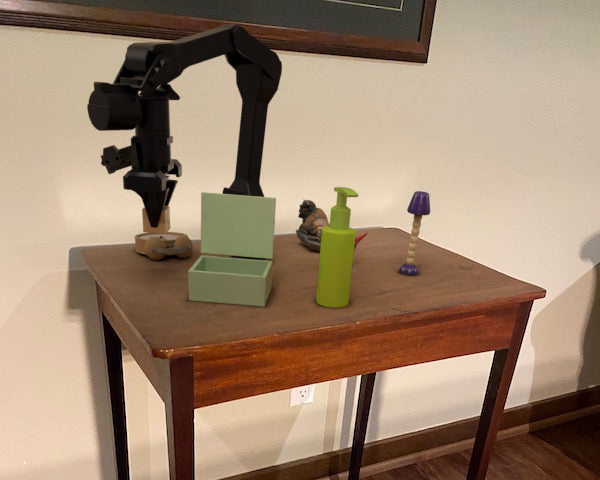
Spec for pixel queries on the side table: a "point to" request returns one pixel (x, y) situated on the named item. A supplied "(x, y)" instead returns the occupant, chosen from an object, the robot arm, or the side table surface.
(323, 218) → the bison figurine
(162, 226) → the block
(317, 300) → the soap dispenser
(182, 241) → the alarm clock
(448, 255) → the side table surface
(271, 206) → the lid
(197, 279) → the chest
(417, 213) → the toy lamp
